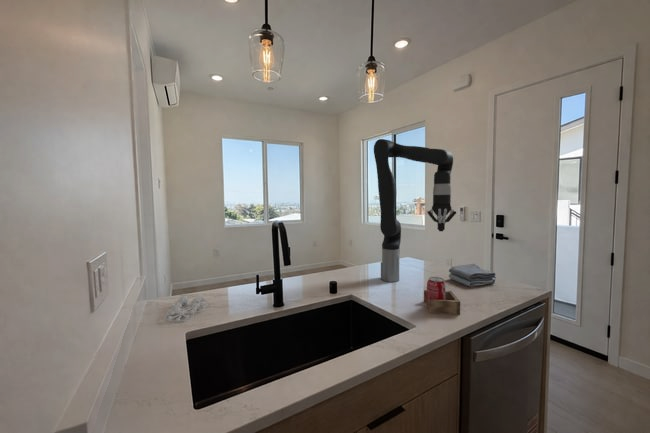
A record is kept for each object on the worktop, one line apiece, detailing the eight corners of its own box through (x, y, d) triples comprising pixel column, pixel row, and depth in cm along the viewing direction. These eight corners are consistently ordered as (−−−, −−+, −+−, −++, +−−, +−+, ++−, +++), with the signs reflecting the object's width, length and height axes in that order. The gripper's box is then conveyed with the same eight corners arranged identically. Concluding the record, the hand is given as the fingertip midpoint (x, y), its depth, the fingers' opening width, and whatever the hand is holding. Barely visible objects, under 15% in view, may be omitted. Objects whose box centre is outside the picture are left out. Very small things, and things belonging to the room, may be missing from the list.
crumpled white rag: (194, 326, 102) (195, 315, 102) (154, 324, 101) (154, 313, 101) (212, 304, 121) (213, 295, 121) (178, 302, 120) (178, 293, 120)
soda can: (441, 304, 116) (442, 276, 115) (447, 311, 109) (448, 281, 108) (424, 304, 117) (425, 276, 116) (429, 311, 110) (429, 281, 109)
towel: (447, 279, 151) (447, 265, 150) (473, 276, 156) (473, 262, 156) (470, 288, 136) (470, 272, 136) (497, 284, 142) (498, 269, 141)
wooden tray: (429, 312, 108) (429, 300, 108) (423, 301, 120) (423, 290, 119) (460, 314, 106) (460, 301, 106) (451, 302, 118) (451, 291, 118)
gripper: (428, 194, 125) (427, 232, 126) (459, 193, 123) (458, 232, 124) (425, 194, 132) (424, 230, 134) (454, 193, 130) (453, 230, 132)
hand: (441, 231), depth 129 cm, fingers closed
